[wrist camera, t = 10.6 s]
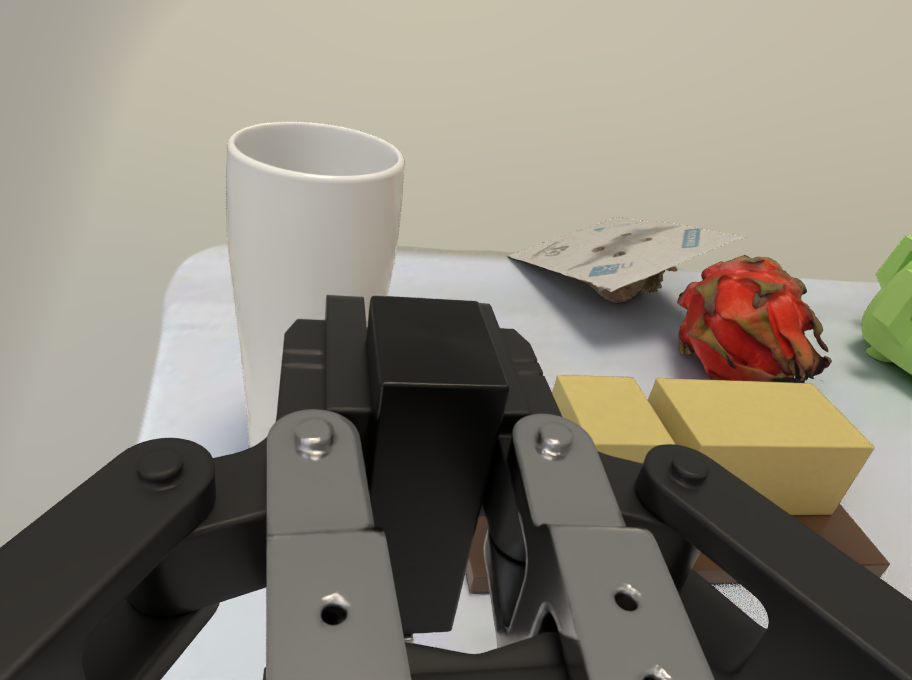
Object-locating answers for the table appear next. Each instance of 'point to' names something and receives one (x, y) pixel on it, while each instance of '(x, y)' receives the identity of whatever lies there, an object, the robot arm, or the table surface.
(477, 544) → the butter board
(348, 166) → the white tall tumbler
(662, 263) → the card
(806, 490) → the butter block
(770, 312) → the dragon fruit
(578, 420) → the butter slice
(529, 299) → the table surface
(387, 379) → the knife
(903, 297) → the teapot
